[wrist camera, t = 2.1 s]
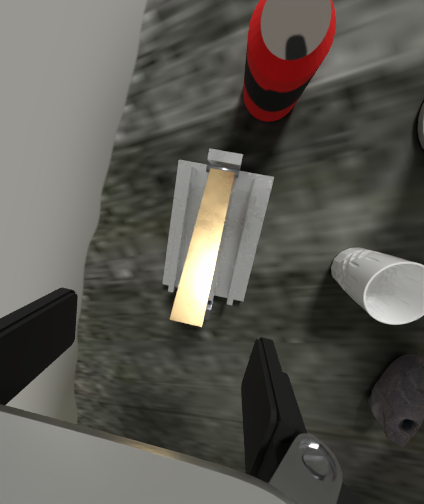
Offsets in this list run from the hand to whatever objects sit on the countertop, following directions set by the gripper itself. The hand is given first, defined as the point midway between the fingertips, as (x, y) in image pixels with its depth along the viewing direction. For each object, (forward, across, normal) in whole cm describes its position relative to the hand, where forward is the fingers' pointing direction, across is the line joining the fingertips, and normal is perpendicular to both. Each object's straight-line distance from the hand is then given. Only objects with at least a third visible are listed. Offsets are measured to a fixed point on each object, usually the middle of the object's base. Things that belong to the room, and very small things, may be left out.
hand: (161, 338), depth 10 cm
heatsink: (+25, 0, -2) cm, 25 cm away
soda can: (+25, -4, -23) cm, 34 cm away
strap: (+14, 0, -3) cm, 14 cm away
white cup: (+25, -23, -1) cm, 34 cm away
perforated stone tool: (+25, -37, +17) cm, 48 cm away
